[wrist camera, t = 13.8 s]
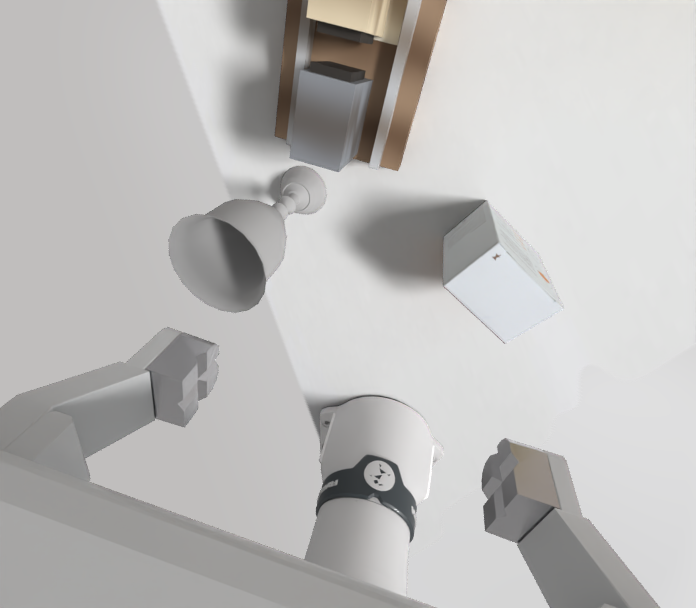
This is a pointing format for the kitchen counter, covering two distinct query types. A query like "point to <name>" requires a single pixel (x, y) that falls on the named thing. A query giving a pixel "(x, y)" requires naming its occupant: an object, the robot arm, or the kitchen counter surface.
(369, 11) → the birch finger
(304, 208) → the chalice
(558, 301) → the small box
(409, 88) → the rail board
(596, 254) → the kitchen counter surface
